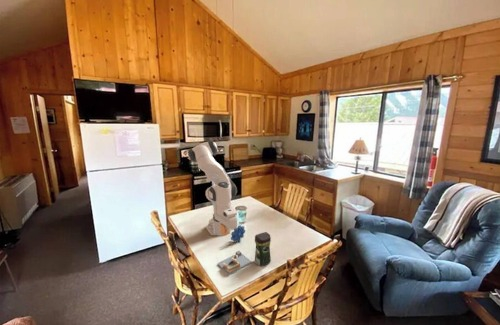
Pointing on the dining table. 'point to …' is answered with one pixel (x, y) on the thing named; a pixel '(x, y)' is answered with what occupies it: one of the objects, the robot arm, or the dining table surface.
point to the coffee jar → (262, 248)
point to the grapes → (238, 233)
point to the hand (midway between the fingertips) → (225, 230)
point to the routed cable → (235, 256)
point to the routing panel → (241, 259)
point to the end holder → (236, 266)
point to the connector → (224, 230)
